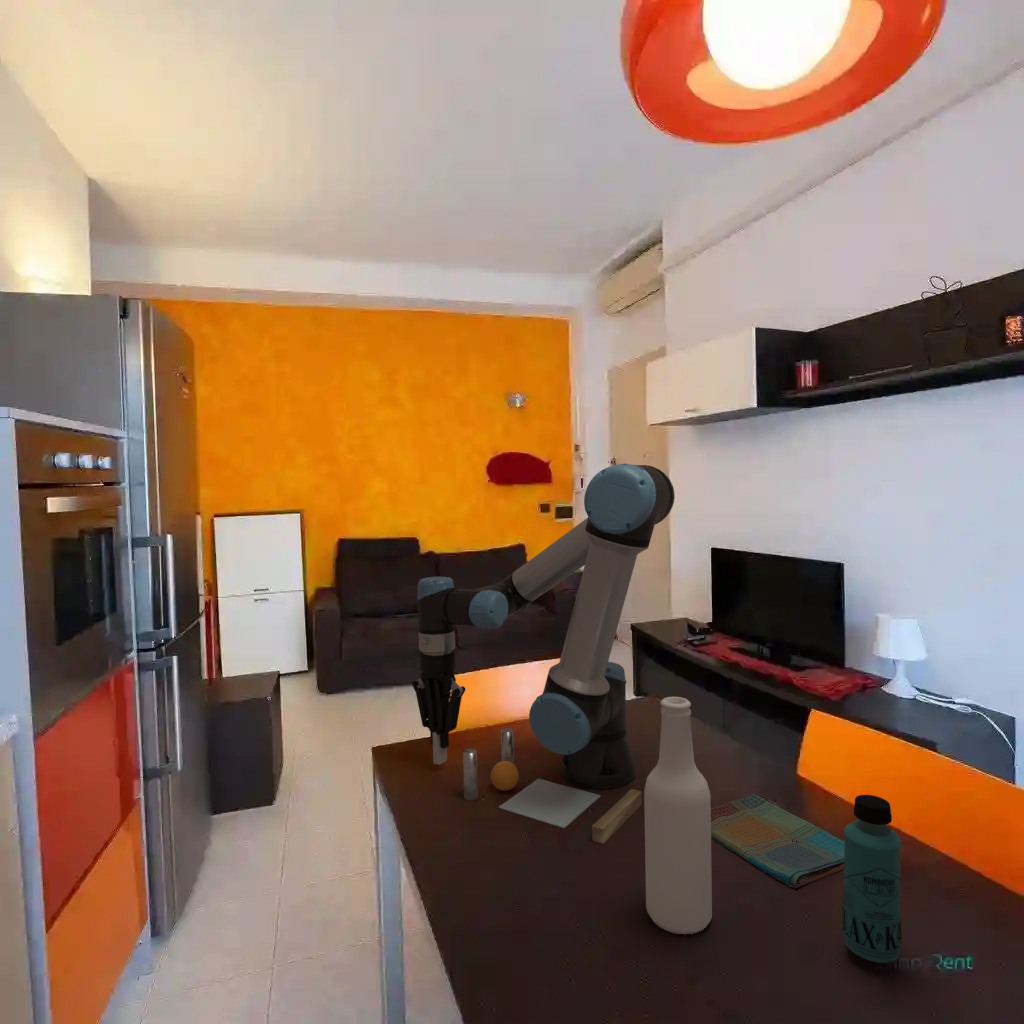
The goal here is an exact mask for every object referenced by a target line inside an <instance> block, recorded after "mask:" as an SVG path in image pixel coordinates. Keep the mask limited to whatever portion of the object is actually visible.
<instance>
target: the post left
mask: <svg viewBox="0 0 1024 1024" xmlns="http://www.w3.org/2000/svg"><path fill="white" fill-rule="evenodd" d="M477 753H478V751H477V749H475V748H467V749H464V750H463V751H462V762H463V763H462V765H463V766H462V767H463V799H464V800H465V801H475V800H477V799H478V794H479V793H478V792H479V791H478V762H477V761H478V759H477V758H478V757H477Z"/></svg>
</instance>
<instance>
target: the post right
mask: <svg viewBox="0 0 1024 1024" xmlns="http://www.w3.org/2000/svg"><path fill="white" fill-rule="evenodd" d="M514 740H515V739H514V729H513V728H502V729H501V730H500V744H501V745H500V753H501V761H509V762H511V763H513V764H514V765H515V751H514V749H515V746H514Z"/></svg>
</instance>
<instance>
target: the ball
mask: <svg viewBox="0 0 1024 1024" xmlns="http://www.w3.org/2000/svg"><path fill="white" fill-rule="evenodd" d="M519 774H520V773H519V770H518V768H517V766H516V765H515V763H514V764H513V763H511V762H509V761H502V760H501V761H499V762H497V763H496V764H495V765H493V767H492V770H491V772H490V779H491V783H492V784H493V786H494V787H495V788H496V789H497V790H499V791H502V792H503V791H505V792H507V791H510V790H512V789H513V788H515V787H516V785H517V784H518V781H519V777H520V776H519Z"/></svg>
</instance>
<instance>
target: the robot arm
mask: <svg viewBox="0 0 1024 1024" xmlns="http://www.w3.org/2000/svg"><path fill="white" fill-rule="evenodd" d="M674 489H675V488H674V485H673V484H672V481H671V479H670V478H669V476H668V475H667V474H666V473H665V472H663V471H662V470H661V469H660V468H657V467H655V466H652V465H647V464H631V463H626V462H625V463H618V464H614V465H610V466H608V467H605V468H604V469H601V470H600V471H598V473H596V474H595V475H594V476H593V477H592V478H591V480H590V481H589V483H588V484H587V486H586V489H585V492H584V496H583V497H584V499H583V500H584V503H583V504H584V510H585V513H586V515H587V517H586V518H585V519H583V520H582V521H581V522H580V523H578V524H577V525H575V526H574V527H573V528H572V529H570V530H569V531H568V532H566V533H564V534H563V535H562V536H561V537H559V538H558V539H556V540H555V541H554V542H553V543H551V544H550V545H548V546H547V547H545V548H544V549H543V550H542V551H540V552H539V553H537V555H535V556H533V557H532V558H531V559H529V560H528V561H527V562H525V563H524V564H522V565H521V566H519V568H516V570H515V571H514V572H512V573H511V574H510V575H508V576H506V577H505V578H504V579H503V580H501V581H499V582H496V583H493V584H489V585H487V586H484V587H479V588H474V589H471V588H470V589H468V588H458V587H455V585H454V580H453V578H452V577H447V576H430V577H429V576H428V577H424V578H421V579H420V580H419V581H418V582H417V583H418V584H417V598H416V602H417V603H416V604H417V615H418V616H417V617H418V649H419V651H420V653H419V655H418V657H419V658H418V659H419V661H418V663H419V670H420V671H421V672H420V677H419V678H418V679H415V680H413V681H412V682H411V685H412V688H413V689H414V691H415V694H416V696H415V697H416V699H417V700H416V701H417V705H418V706H417V707H418V710H419V715H420V720H421V725H422V727H424V728H427V729H428V730H429V731H430V745H431V746H432V751H433V752H432V760H433V764H435V765H441V764H442V763H445V762H446V761H448V747H449V745H450V738H449V737H450V735H449V734H450V732H452V731H454V730H456V729H457V727H458V726H457V725H458V720H459V715H460V710H461V709H460V708H461V703H462V698H463V696H464V694H465V692H466V687H465V686H464V685H463V686H460V685H459V684H458V683H457V682H456V680H457V679H456V677H455V674H454V673H455V670H456V669H455V668H456V652H455V651H454V650H455V648H456V639H455V638H456V637H455V635H456V634H455V626H459V627H469V628H478V629H482V630H487V629H499V628H500V627H502V626H503V624H504V622H506V621H507V618H508V617H511V616H513V615H514V616H515V615H518V614H520V613H522V612H523V611H525V610H526V609H528V608H529V607H530V605H531V604H532V602H534V601H535V600H536V599H538V598H539V597H541V596H542V595H544V594H545V593H547V592H548V591H550V590H551V589H552V588H554V587H555V586H557V585H559V584H560V583H561V582H563V581H564V580H565V579H567V578H568V577H570V576H572V575H573V574H575V572H577V571H578V570H580V569H581V568H582V567H583V569H582V575H581V578H580V582H579V586H578V590H577V594H576V598H575V601H574V605H573V608H572V612H571V616H570V621H569V623H568V628H567V632H566V636H565V640H564V643H563V647H562V652H561V654H560V660H559V662H558V663H556V664H554V665H552V666H551V667H549V670H548V673H547V677H546V680H545V683H544V687H543V691H542V694H540V695H539V696H537V697H536V699H535V700H534V701H532V702H533V703H532V704H531V706H530V709H529V713H528V719H529V725H530V729H531V731H532V733H534V735H535V738H536V739H537V741H538V742H539V743H540V744H541V745H542V747H544V748H546V749H547V750H548V751H550V752H552V753H554V754H558V755H562V758H561V759H562V760H561V774H562V776H563V779H565V780H566V781H567V782H569V783H571V784H573V785H576V786H579V787H583V788H587V789H594V790H595V789H597V790H598V789H599V790H600V789H601V790H604V789H605V790H606V789H608V790H609V789H615V788H619V787H623V786H626V785H627V784H630V783H632V782H633V780H634V779H636V776H637V775H636V773H637V772H636V761H635V759H634V756H633V753H632V749H631V747H630V743H629V742H628V738H627V707H626V705H627V703H626V701H627V699H626V697H627V696H626V694H627V691H626V683H627V680H626V673H625V668H624V667H623V666H622V665H621V664H620V663H615V662H613V661H611V662H610V657H611V653H612V649H613V646H614V642H615V638H616V634H617V631H618V627H619V624H620V619H621V617H622V612H623V609H624V605H625V601H626V597H627V594H628V590H629V587H630V583H631V580H632V576H633V572H634V569H635V568H634V567H635V564H636V561H637V558H638V555H639V554H640V553H642V552H644V551H646V550H648V549H649V547H650V544H651V543H650V542H651V539H652V535H653V533H654V528H655V525H658V524H660V523H661V522H663V520H665V518H667V517H668V515H669V514H670V513H671V511H672V509H673V506H674V503H675V498H676V497H675V490H674Z"/></svg>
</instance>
